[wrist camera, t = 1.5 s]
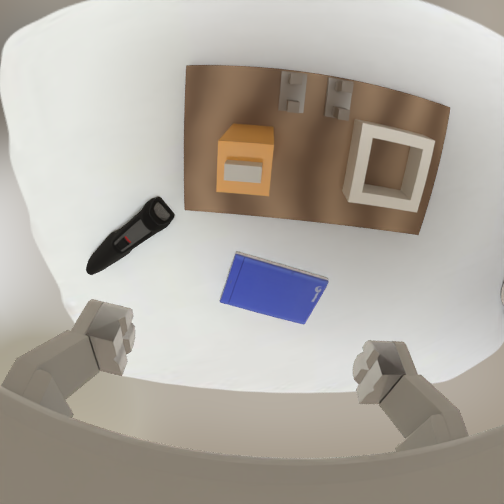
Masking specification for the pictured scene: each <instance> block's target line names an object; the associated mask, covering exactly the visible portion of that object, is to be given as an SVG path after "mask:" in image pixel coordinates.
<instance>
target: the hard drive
mask: <svg viewBox="0 0 504 504" xmlns="http://www.w3.org/2000/svg"><path fill="white" fill-rule="evenodd" d="M327 285H328V278H326V277H323V276H319V275H316V274H312V273H309V272H306V271H302V270H299V269H295V268H292V267H289V266H285V265H282V264H278V263H275V262H271V261H268V260H265V259H261V258H258V257H254V256H251V255H248V254H244V253H241V252H237V251H236V253H235V256H234V259H233V262H232V265H231V268H230V271H229V274H228V277H227V280H226V283H225V286H224V289H223V292H222V295H221V299H220V302H221V303H224V304H229V305H232V306H236V307H239V308H243V309H247V310H250V311H254V312H257V313H261V314H265V315H269V316H273V317H276V318H280V319H284V320H288V321H292V322H296V323H300V324H305V323H306V321H307V319H308V318H309V316H310V314H311V313H312V311H313V309H314V307H315V306H316V304H317V302H318V301H319V299H320V297H321V295H322V294H323V292H324V290H325V288H326V286H327Z"/></svg>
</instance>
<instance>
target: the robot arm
mask: <svg viewBox="0 0 504 504" xmlns="http://www.w3.org/2000/svg"><path fill="white" fill-rule="evenodd" d="M501 299H502V303H503V305H504V284H503V287H502V292H501ZM132 319H133V311H132V309H131V308H127V307H123V306H119V305H115V304H111V303H107V302H102V301H98V300H94V299H91V300H90V301H89V302H88V303H87V305H86V306H85V308H84V310H83V311H82V313H81V315H80V316H79V318H78V320H77V321H76V323H75V325H74V327H73V328H72V330H71V331H69V330H67V331H65V332H63V333H61V334H59V335H57V336H56V337H54V338H52V339H50V340H48V341H47V342H45V343H43V344H41V345H39V346H38V347H36V348H34V349H33V350H31V351H29V352H27V353H25V354H24V355H22V356H20V357H18V358H17V359H16V360H15V362H14V364H13V366H12V367H11V369H10V371H9V372H8V374H7V376H6V378H5V380H4V381H3V383H2V385H1V386H0V504H504V425H502V426H499V427H496V428H493V429H490V430H487V431H484V432H481V433H477V434H474V435H471V436H469V435H468V432H467V430H466V427H465V424H464V421H463V418H462V416H461V413H460V410H459V409H458V408H457V407H456V406H454V405H453V404H452V403H451V402H450V401H449V400H448V399H447V398H446V397H445V396H444V395H443V394H442V393H440V392H439V391H438V390H437V389H436V388H435V387H434V386H433V385H432V384H431V383H430V382H428V381H427V380H426V379H425V378H424V377H423V376H422V375H418V374H417V371H416V368H415V366H414V363H413V361H412V358H411V356H410V353H409V351H408V348H407V346H406V344H405V343H404V342H396V341H392V342H391V341H372V340H368V341H367V342H365V344H364V345H363V347H362V348H363V352H362V353H360V354H359V355H357V357H356V359H355V361H354V365H353V377H354V380H355V381H356V382H357V383H358V384H359V385H358V387H357V389H356V391H357V395H358V399H359V404H379V406H380V407H381V408H382V409H383V411H384V412H385V413H386V415H387V416H388V417H389V418H390V419H391V421H392V422H393V423H394V425H395V426H396V427H397V428H398V430H399V431H400V432H401V434H402V435H403V436H404V438H405V439H404V440H403V441H402V442H401V443H400V444H398V445H397V447H396V448H395V449H396V452H389V453H382V454H373V455H363V456H353V457H352V456H351V457H338V458H337V457H336V458H269V457H252V456H241V455H231V454H222V453H214V452H207V451H200V450H193V449H187V448H182V447H176V446H171V445H166V444H161V443H157V442H152V441H148V440H144V439H140V438H136V437H132V436H128V435H124V434H121V433H117V432H114V431H111V430H107V429H104V428H100V427H98V426H94V425H91V424H88V423H85V422H83V421H80V420H77V419H74V418H72V417H73V412H72V410H71V409H70V407H69V405H68V404H67V402H66V399H67V398H68V397H69V396H71V395H72V394H73V393H74V392H76V391H77V390H78V389H79V388H81V387H82V386H83V385H84V384H85V383H86V382H88V381H89V380H90V379H92V378H93V377H94V376H95V375H96V374H98V373H99V371H103V372H107V373H111V374H115V375H120V376H122V374H123V372H124V369H125V366H126V364H127V357H126V354H128V353H130V352H131V351H132V348H133V345H134V340H135V326H134V325H133V323H132V322H131V321H132Z"/></svg>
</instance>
